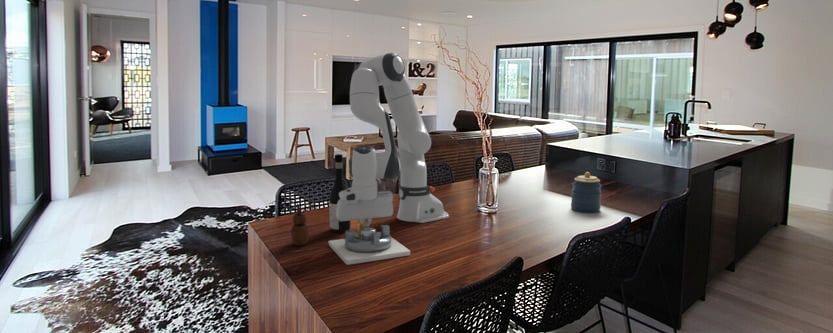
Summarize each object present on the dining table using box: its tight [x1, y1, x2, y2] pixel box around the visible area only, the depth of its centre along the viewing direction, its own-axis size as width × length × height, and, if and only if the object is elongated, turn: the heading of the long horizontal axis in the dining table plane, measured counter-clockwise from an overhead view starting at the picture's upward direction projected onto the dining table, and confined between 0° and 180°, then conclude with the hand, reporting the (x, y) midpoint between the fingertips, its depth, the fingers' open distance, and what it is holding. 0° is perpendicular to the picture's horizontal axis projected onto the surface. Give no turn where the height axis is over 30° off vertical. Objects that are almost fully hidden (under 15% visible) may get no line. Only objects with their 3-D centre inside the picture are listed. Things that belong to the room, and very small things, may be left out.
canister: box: [570, 171, 603, 214], centre depth 226 cm, size 13×13×18 cm
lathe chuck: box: [344, 222, 392, 253], centre depth 170 cm, size 16×16×6 cm
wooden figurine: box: [290, 202, 309, 247], centre depth 176 cm, size 7×6×15 cm
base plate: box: [328, 236, 411, 266], centre depth 171 cm, size 22×22×2 cm
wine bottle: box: [328, 153, 351, 233], centre depth 192 cm, size 8×8×30 cm
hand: (365, 230), depth 177 cm, fingers closed
